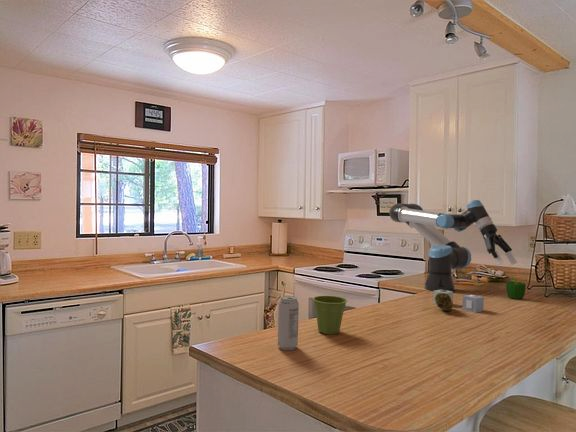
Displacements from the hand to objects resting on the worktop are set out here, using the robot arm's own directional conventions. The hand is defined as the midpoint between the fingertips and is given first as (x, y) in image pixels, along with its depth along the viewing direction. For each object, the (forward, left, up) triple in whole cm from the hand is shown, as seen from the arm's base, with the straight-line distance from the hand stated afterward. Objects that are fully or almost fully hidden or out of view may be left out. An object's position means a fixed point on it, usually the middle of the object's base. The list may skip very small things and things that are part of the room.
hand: (507, 263), depth 215 cm
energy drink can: (+5, -138, -17) cm, 139 cm away
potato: (+1, -53, -17) cm, 56 cm away
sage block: (-7, -42, -17) cm, 46 cm away
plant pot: (-1, -116, -17) cm, 118 cm away
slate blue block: (+7, -41, -17) cm, 45 cm away
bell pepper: (+4, +2, -17) cm, 17 cm away
